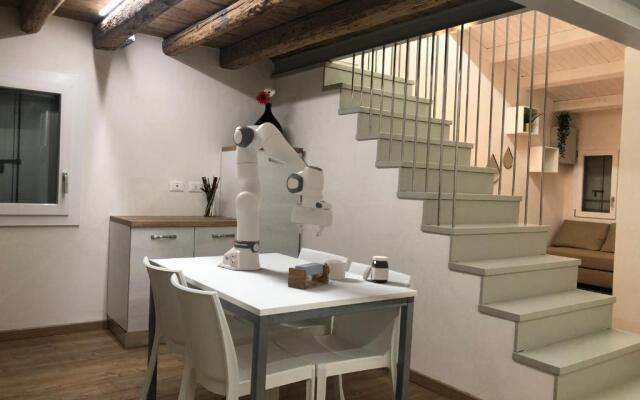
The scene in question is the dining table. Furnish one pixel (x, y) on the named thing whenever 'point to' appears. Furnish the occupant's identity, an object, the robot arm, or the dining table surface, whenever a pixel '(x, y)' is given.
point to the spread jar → (378, 270)
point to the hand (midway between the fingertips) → (310, 234)
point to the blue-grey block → (311, 268)
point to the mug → (336, 269)
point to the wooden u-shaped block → (299, 278)
